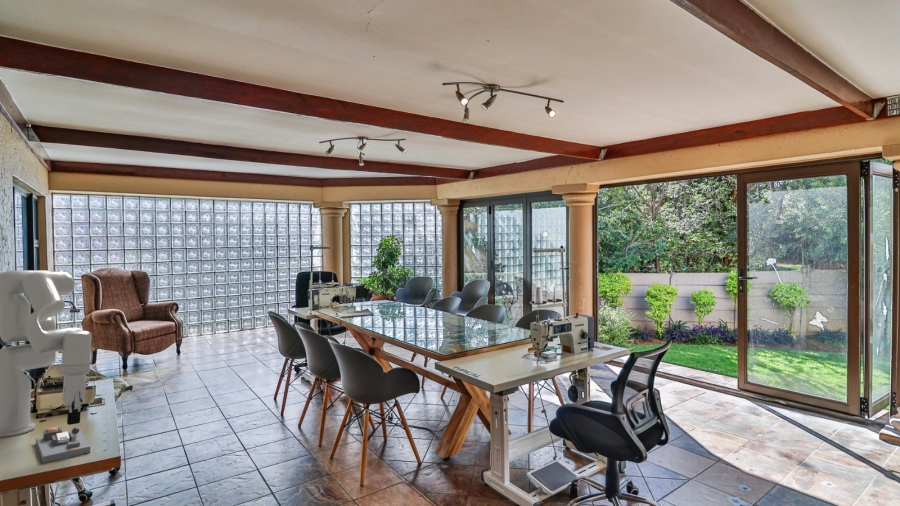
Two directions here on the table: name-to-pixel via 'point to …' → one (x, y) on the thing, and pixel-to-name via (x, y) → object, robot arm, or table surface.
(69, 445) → the switch panel
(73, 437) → the toggle lever
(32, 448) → the table surface
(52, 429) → the push button
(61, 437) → the rocker
